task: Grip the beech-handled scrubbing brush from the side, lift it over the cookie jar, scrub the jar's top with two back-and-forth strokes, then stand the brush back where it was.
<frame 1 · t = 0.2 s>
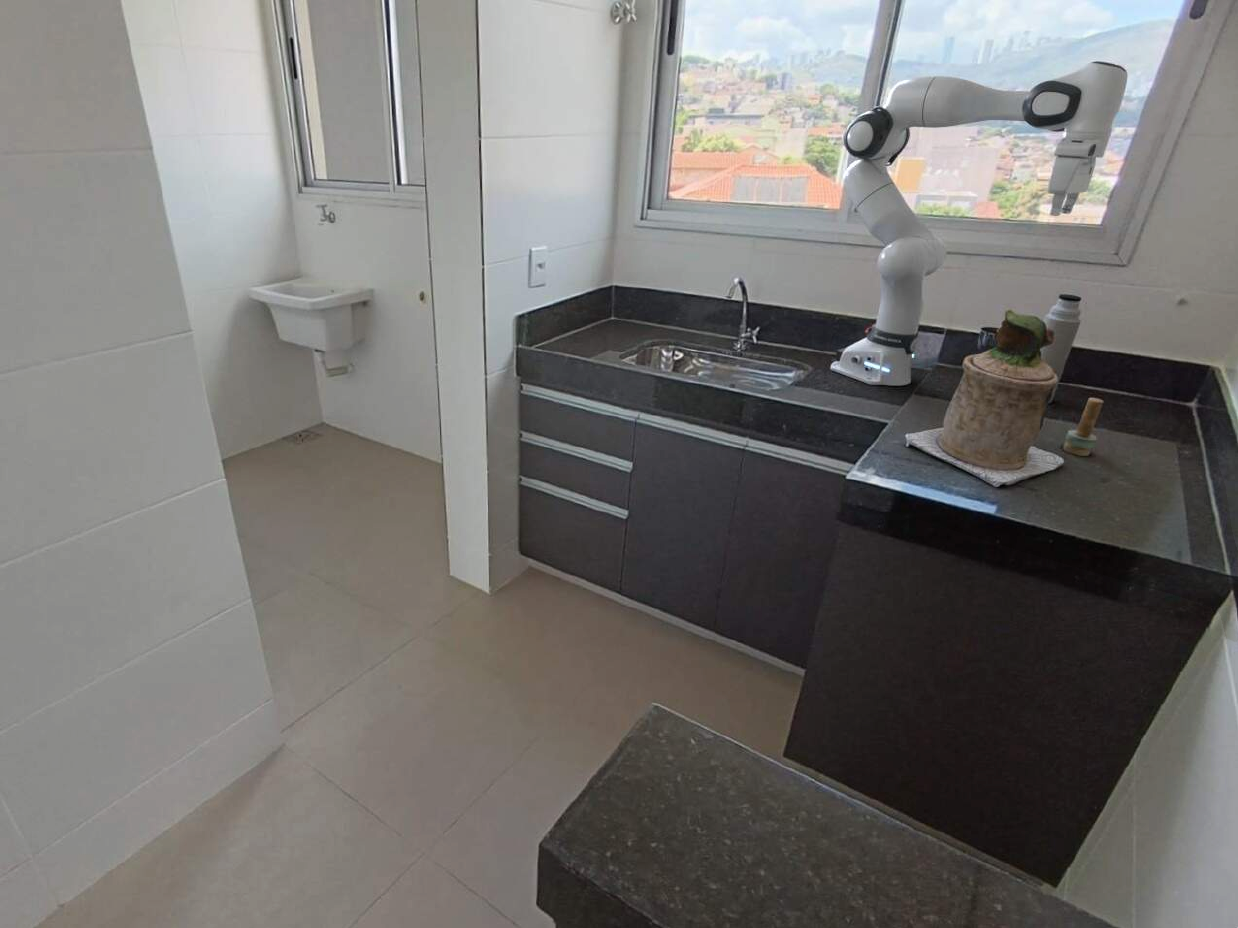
hand: (1060, 214, 154), 48 cm above the table, tool pointing down, fingers open, 8 cm apart
thermos bottle: (1035, 398, 185), on the table
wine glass: (980, 382, 195), on the table
brush: (1076, 450, 154), on the table
cookie jar: (980, 456, 150), on the table
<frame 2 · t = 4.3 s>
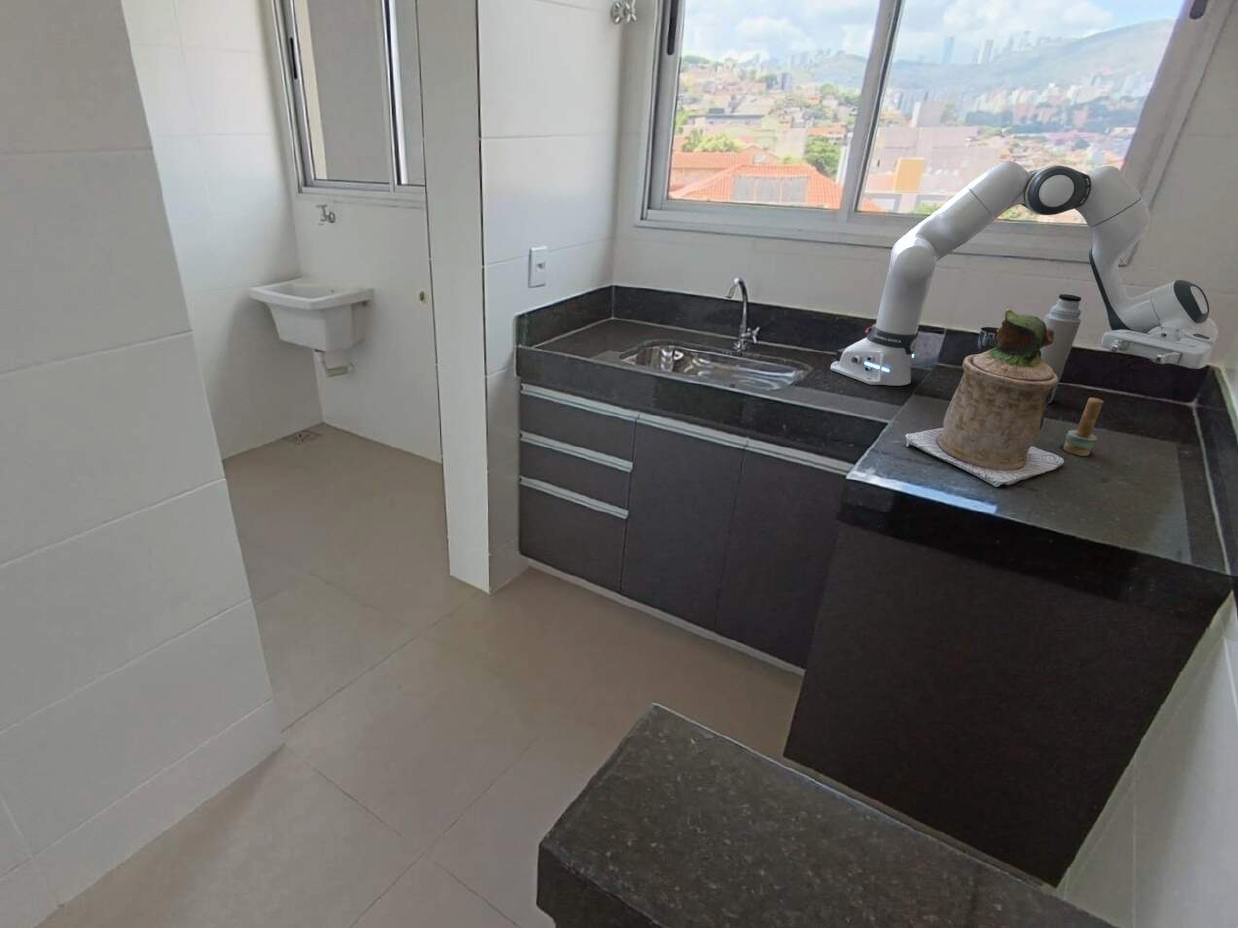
hand: (1135, 353, 150), 22 cm above the table, tool horizontal, fingers open, 8 cm apart
nothing on the table moved.
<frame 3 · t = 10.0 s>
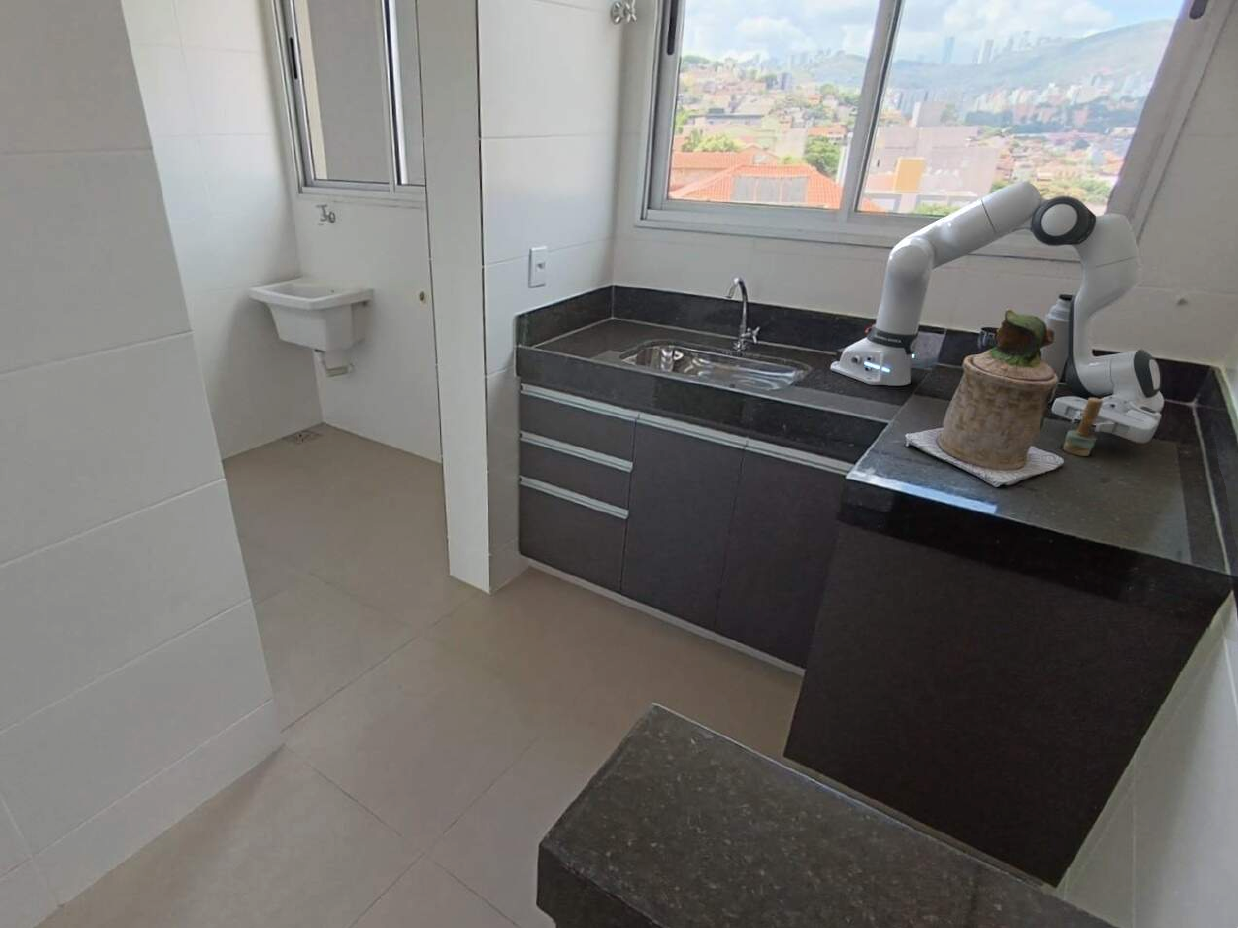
hand: (1084, 424, 151), 7 cm above the table, tool horizontal, fingers closed on brush, 3 cm apart
brush: (1076, 450, 154), on the table, touching gripper
everything else where it was.
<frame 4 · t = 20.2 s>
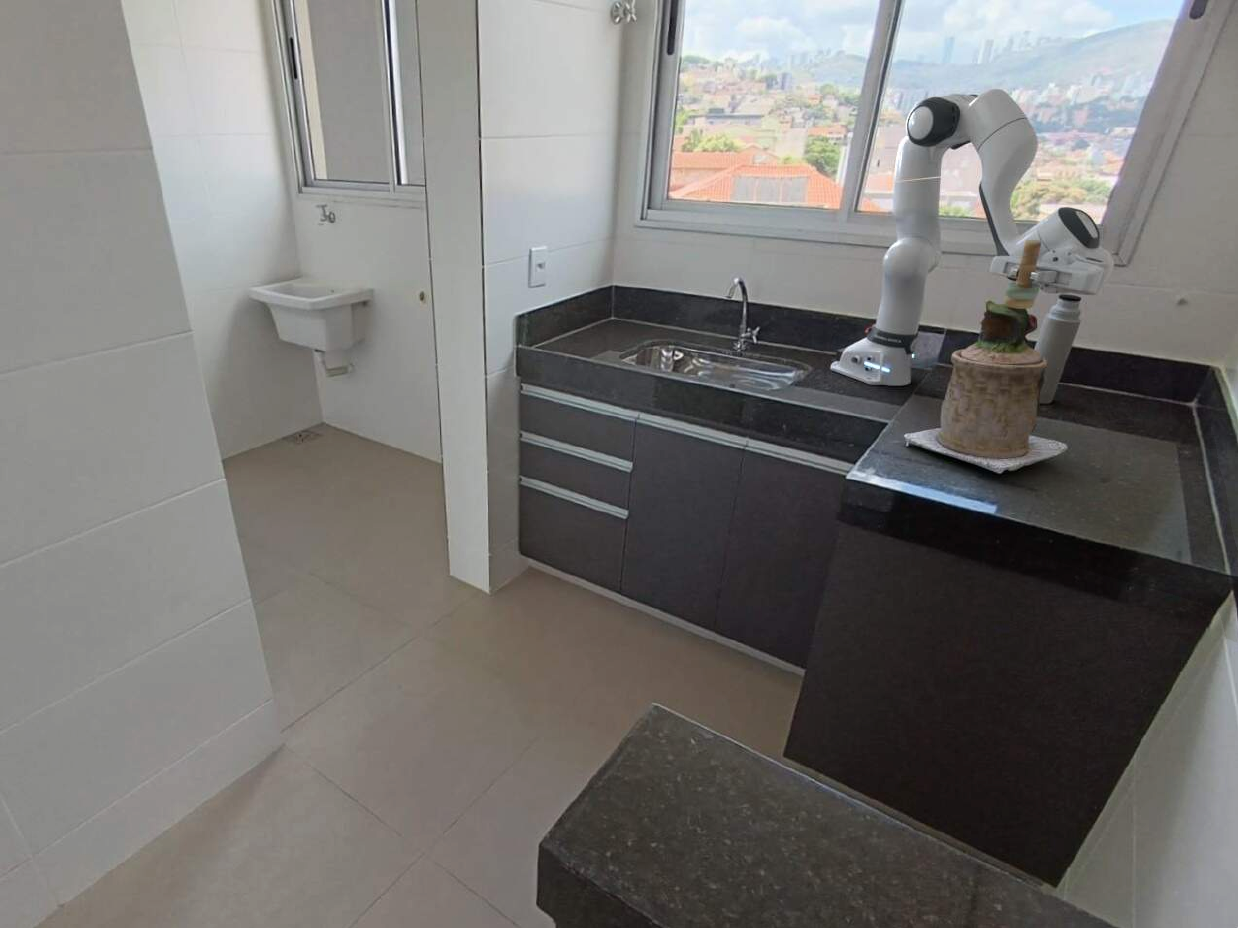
hand: (1023, 274, 133), 39 cm above the table, tool horizontal, fingers closed on brush, 3 cm apart
brush: (1019, 304, 137), point 33 cm above the table, tilted 8°, touching cookie jar, gripper
cookie jar: (982, 449, 149), point 1 cm above the table, touching brush
everything else where it was.
when the fingers open (6 cm above the table, at t = 34.9 s): brush stays where it is, on the table.
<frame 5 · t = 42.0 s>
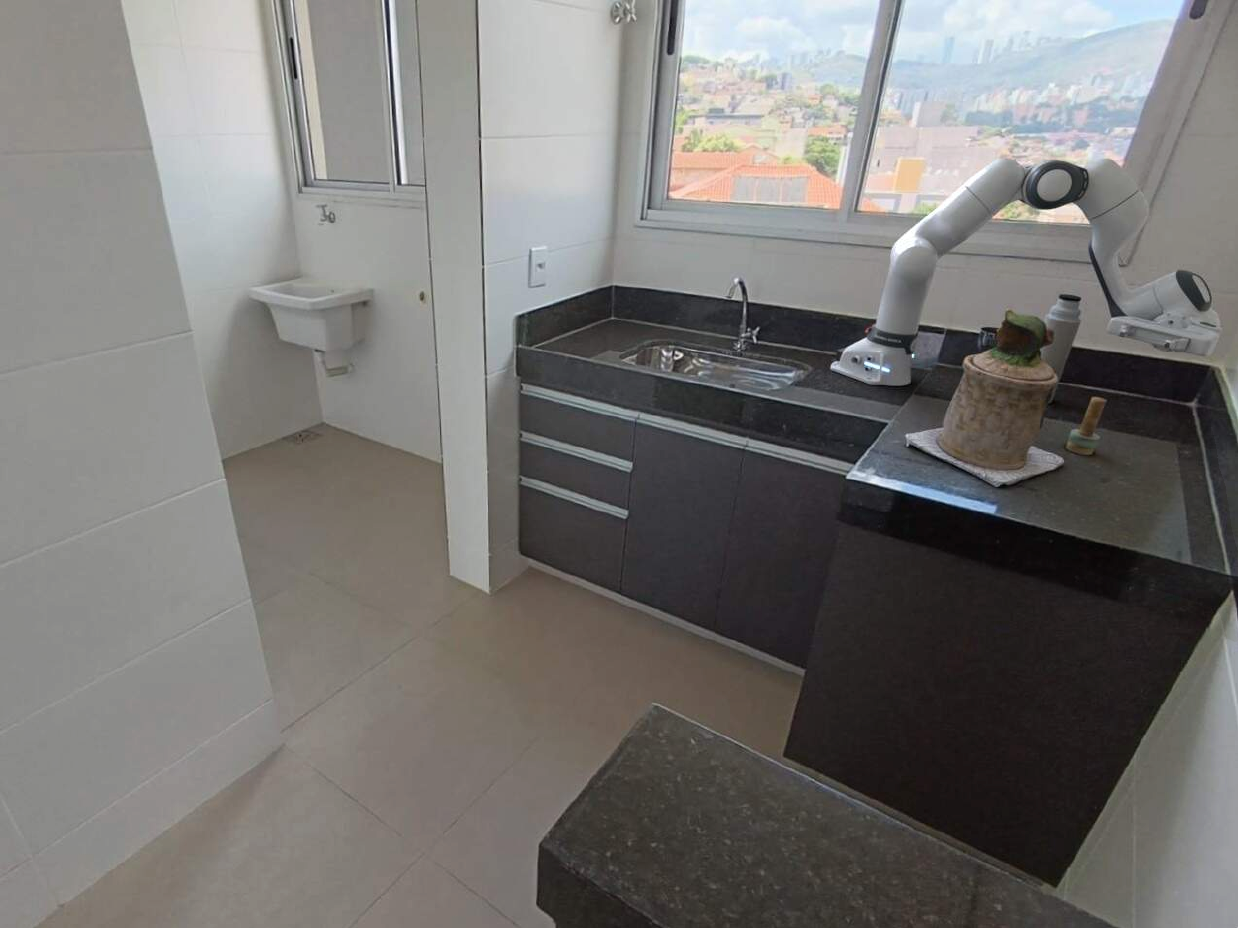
hand: (1144, 338, 149), 25 cm above the table, tool horizontal, fingers open, 8 cm apart
brush: (1079, 450, 155), on the table
cookie jar: (980, 455, 150), on the table
everything else where it was.
at the end: brush inside the target area (1.1 cm from its centre), on the table; brush tilted 0°; cookie jar moved 0.2 cm from its start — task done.
